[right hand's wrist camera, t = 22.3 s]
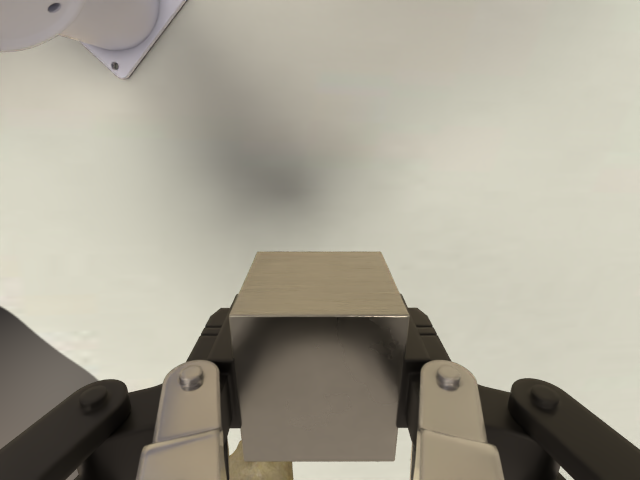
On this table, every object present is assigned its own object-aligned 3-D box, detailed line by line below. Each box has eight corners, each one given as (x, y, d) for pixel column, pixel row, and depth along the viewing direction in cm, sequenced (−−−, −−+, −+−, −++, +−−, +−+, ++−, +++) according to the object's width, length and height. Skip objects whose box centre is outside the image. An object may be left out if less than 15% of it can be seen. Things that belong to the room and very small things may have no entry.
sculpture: (250, 331, 34) (200, 487, 20) (324, 335, 34) (327, 492, 20) (250, 379, 36) (205, 552, 22) (320, 383, 36) (320, 556, 22)
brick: (264, 364, 14) (243, 462, 10) (256, 251, 12) (227, 315, 8) (373, 364, 14) (395, 462, 10) (381, 251, 12) (410, 315, 8)
